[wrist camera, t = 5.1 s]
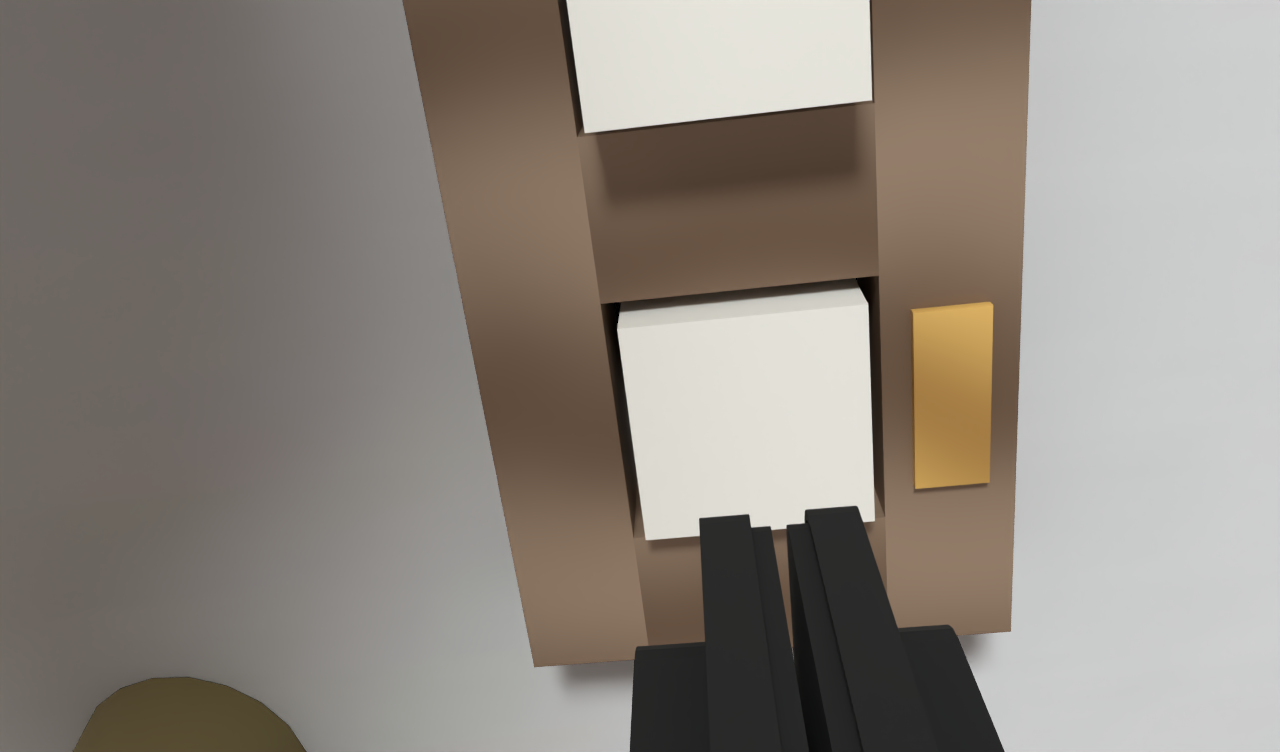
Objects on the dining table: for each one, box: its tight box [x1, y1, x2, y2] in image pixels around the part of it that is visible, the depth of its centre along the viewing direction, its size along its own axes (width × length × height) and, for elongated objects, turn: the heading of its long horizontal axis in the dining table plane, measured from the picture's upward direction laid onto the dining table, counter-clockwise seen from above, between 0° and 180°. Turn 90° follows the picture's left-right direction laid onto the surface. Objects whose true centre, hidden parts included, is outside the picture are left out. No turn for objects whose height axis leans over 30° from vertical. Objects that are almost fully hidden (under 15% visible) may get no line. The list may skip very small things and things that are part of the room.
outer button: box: [617, 278, 875, 540], centre depth 20 cm, size 4×4×2 cm
